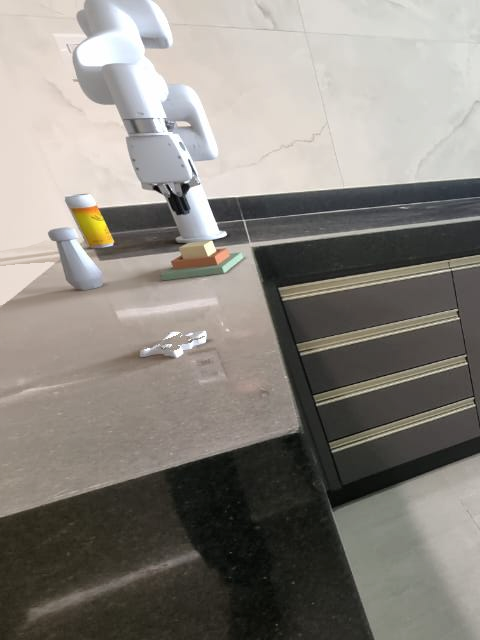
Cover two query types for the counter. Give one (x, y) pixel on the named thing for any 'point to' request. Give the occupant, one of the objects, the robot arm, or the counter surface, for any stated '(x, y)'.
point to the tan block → (197, 249)
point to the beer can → (89, 220)
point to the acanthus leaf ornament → (182, 347)
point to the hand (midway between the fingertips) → (183, 214)
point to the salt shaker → (75, 260)
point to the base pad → (202, 265)
